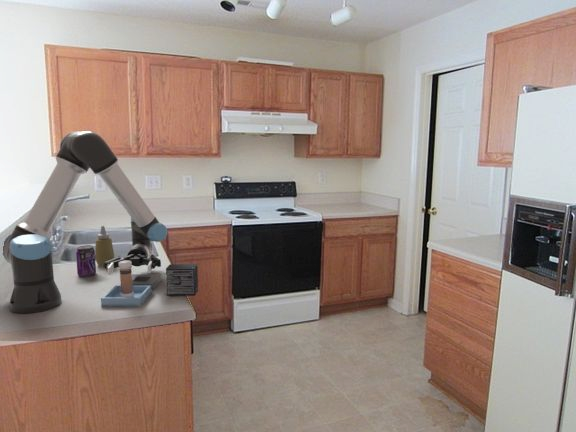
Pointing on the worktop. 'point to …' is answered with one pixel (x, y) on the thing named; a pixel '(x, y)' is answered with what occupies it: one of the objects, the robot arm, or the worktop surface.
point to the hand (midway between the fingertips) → (128, 270)
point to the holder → (146, 280)
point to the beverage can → (85, 260)
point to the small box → (182, 279)
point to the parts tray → (116, 300)
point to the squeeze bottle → (103, 248)
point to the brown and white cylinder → (126, 278)
